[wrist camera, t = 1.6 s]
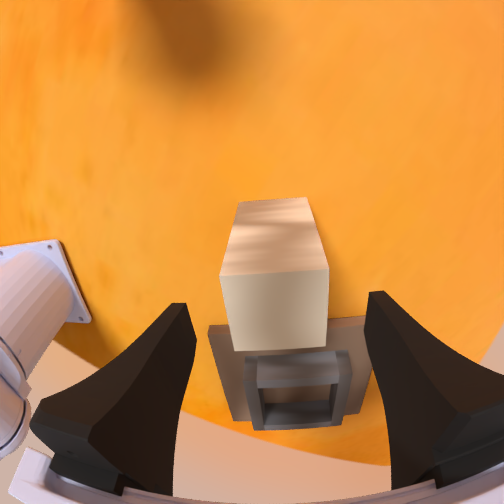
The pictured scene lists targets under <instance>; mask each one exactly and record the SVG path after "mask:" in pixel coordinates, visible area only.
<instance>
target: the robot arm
mask: <svg viewBox="0 0 504 504" xmlns="http://www.w3.org/2000/svg"><path fill="white" fill-rule="evenodd" d="M50 245H51V246H52V247H51V246H50ZM91 320H92V318H91V315H90V313H89V311H88V309H87V307H86V305H85V302H84V300H83V298H82V296H81V294H80V291H79V289H78V287H77V284H76V282H75V280H74V277H73V275H72V272H71V270H70V267H69V265H68V262H67V260H66V257H65V254H64V252H63V249H62V246H61V244H60V242H59V241H58V240H56V239H53V240H45V241H38V242H31V243H24V244H17V245H11V246H4V247H0V460H1V459H2V458H4V457H5V456H7V455H8V454H10V453H12V452H14V451H15V450H16V449H17V448H18V447H19V446H20V445H21V444H22V442H23V441H24V439H25V437H26V435H27V433H28V430H29V427H30V429H31V430H32V432H33V433H34V434H35V435H36V436H37V437H38V438H39V439H40V440H41V441H42V442H43V443H44V444H46V446H48V447H49V448H50V449H51V450H52V451H53V452H54V453H55V454H54V457H53V458H51V457H49V456H48V455H46V454H44V453H41V452H39V451H37V450H35V449H32V448H30V447H26V450H25V452H24V454H23V456H22V459H21V461H20V463H19V466H18V468H17V470H16V473H15V475H14V478H13V480H12V482H11V485H10V487H9V490H8V493H9V494H10V495H12V496H14V497H15V498H17V499H18V500H20V501H22V502H23V503H25V504H234V503H220V502H209V501H200V500H192V499H184V498H178V497H173V465H174V452H175V442H176V434H177V427H178V420H179V414H180V409H181V405H182V401H183V398H184V394H185V391H186V387H187V384H188V380H189V377H190V373H191V370H192V366H193V362H194V357H195V350H196V343H197V338H196V335H195V332H194V328H193V325H192V322H191V318H190V315H189V312H188V308H187V305H186V303H172V304H171V305H170V306H169V307H168V308H167V309H166V310H165V311H164V312H163V313H162V314H161V315H160V316H159V317H158V318H157V319H156V320H155V321H154V322H153V323H152V324H151V325H150V326H149V327H148V328H147V329H146V330H145V331H144V333H143V334H142V335H141V336H139V337H138V338H137V339H136V340H135V341H134V342H133V343H132V344H131V345H130V346H129V347H128V348H127V349H126V350H124V351H123V352H122V353H121V354H120V355H119V356H117V357H116V358H115V359H113V360H112V361H111V362H110V363H108V364H107V365H106V366H104V367H103V368H101V369H100V370H98V371H97V372H95V373H94V374H92V375H91V376H89V377H88V378H86V379H84V380H82V381H81V382H79V383H77V384H75V385H73V386H71V387H69V388H67V389H65V390H63V391H61V392H59V393H56V394H54V395H51V396H49V397H47V398H44V399H42V400H41V401H40V404H39V405H38V407H37V409H36V411H35V413H34V415H33V417H32V419H31V406H30V403H29V401H28V399H27V398H26V397H27V396H28V394H29V392H30V391H31V387H30V386H29V385H28V383H27V382H26V380H27V379H28V377H29V375H30V374H31V372H32V370H33V369H34V367H35V366H36V364H37V363H38V361H39V360H40V358H41V356H42V355H43V353H44V352H45V350H46V349H47V347H48V346H49V344H50V343H51V341H52V340H53V338H54V337H55V335H56V334H57V333H58V331H59V330H60V328H61V327H62V325H63V324H64V322H75V323H90V321H91ZM363 331H364V336H365V341H366V346H367V351H368V355H369V358H370V361H371V364H372V367H373V370H374V373H375V376H376V380H377V383H378V386H379V389H380V392H381V396H382V400H383V404H384V409H385V415H386V421H387V428H388V436H389V445H390V458H391V482H392V483H391V484H392V485H391V486H392V487H391V491H387V492H382V493H377V494H372V495H366V496H362V497H355V498H348V499H342V500H333V501H324V502H313V503H299V504H504V375H502V374H499V373H496V372H494V371H492V370H490V369H487V368H485V367H483V366H481V365H479V364H477V363H475V362H473V361H471V360H469V359H468V358H466V357H464V356H462V355H461V354H459V353H457V352H456V351H454V350H453V349H451V348H450V347H448V346H447V345H446V344H444V343H443V342H441V341H440V340H439V339H437V338H436V337H435V336H433V335H432V334H431V333H430V332H428V331H427V330H426V329H425V328H424V327H422V326H421V325H420V324H419V323H418V322H417V321H416V320H414V319H413V318H412V317H411V316H410V315H409V314H408V313H407V312H406V311H405V310H404V309H403V308H402V307H400V306H399V305H398V304H397V303H396V302H395V301H394V300H393V299H392V298H391V297H390V296H389V295H388V294H387V293H386V292H385V291H374V292H369V297H368V304H367V311H366V318H365V324H364V330H363ZM30 420H31V421H30Z"/></svg>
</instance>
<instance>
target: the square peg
mask: <svg viewBox="0 0 504 504" xmlns="http://www.w3.org/2000/svg"><path fill="white" fill-rule="evenodd" d="M219 277H220V282H221V287H222V293H223V298H224V303H225V308H226V313H227V318H228V322H229V327H230V332H231V337H232V342H233V346H234V351H259V350H281V349H297V348H311V347H323V346H326V332H327V316H328V295H329V266H328V263H327V259H326V256H325V253H324V249H323V246H322V243H321V240H320V237H319V234H318V230H317V227H316V224H315V221H314V218H313V215H312V212H311V209H310V206H309V203H308V200H307V197H301V198H286V199H272V200H259V201H247V202H239V205H238V208H237V212H236V216H235V219H234V223H233V227H232V230H231V234H230V238H229V241H228V245H227V249H226V252H225V256H224V260H223V264H222V268H221V271H220V275H219Z"/></svg>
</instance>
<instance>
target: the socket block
mask: <svg viewBox="0 0 504 504" xmlns="http://www.w3.org/2000/svg"><path fill="white" fill-rule="evenodd" d="M365 318H366V316H357V317H346V318H336V319H327V332H326V346H323V347H311V348H297V349H281V350H259V351H234V346H233V342H232V337H231V332H230V327H229V325H210V326H209V330H208V338H209V341H210V345H211V348H212V352H213V355H214V359H215V362H216V366H217V369H218V373H219V376H220V379H221V383H222V386H223V389H224V393H225V396H226V399H227V402H228V405H229V409H230V412H231V415H232V418H233V421H252V424H253V429H254V430H290V429H306V428H318V427H328V426H337V425H341V424H342V420H343V416H344V415H351V414H358V413H359V412H360V409H361V405H362V402H363V399H364V395H365V392H366V388H367V385H368V381H369V377H370V374H371V370H372V364H371V361H370V358H369V355H368V351H367V346H366V341H365V336H364V331H363V330H364V324H365Z"/></svg>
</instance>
